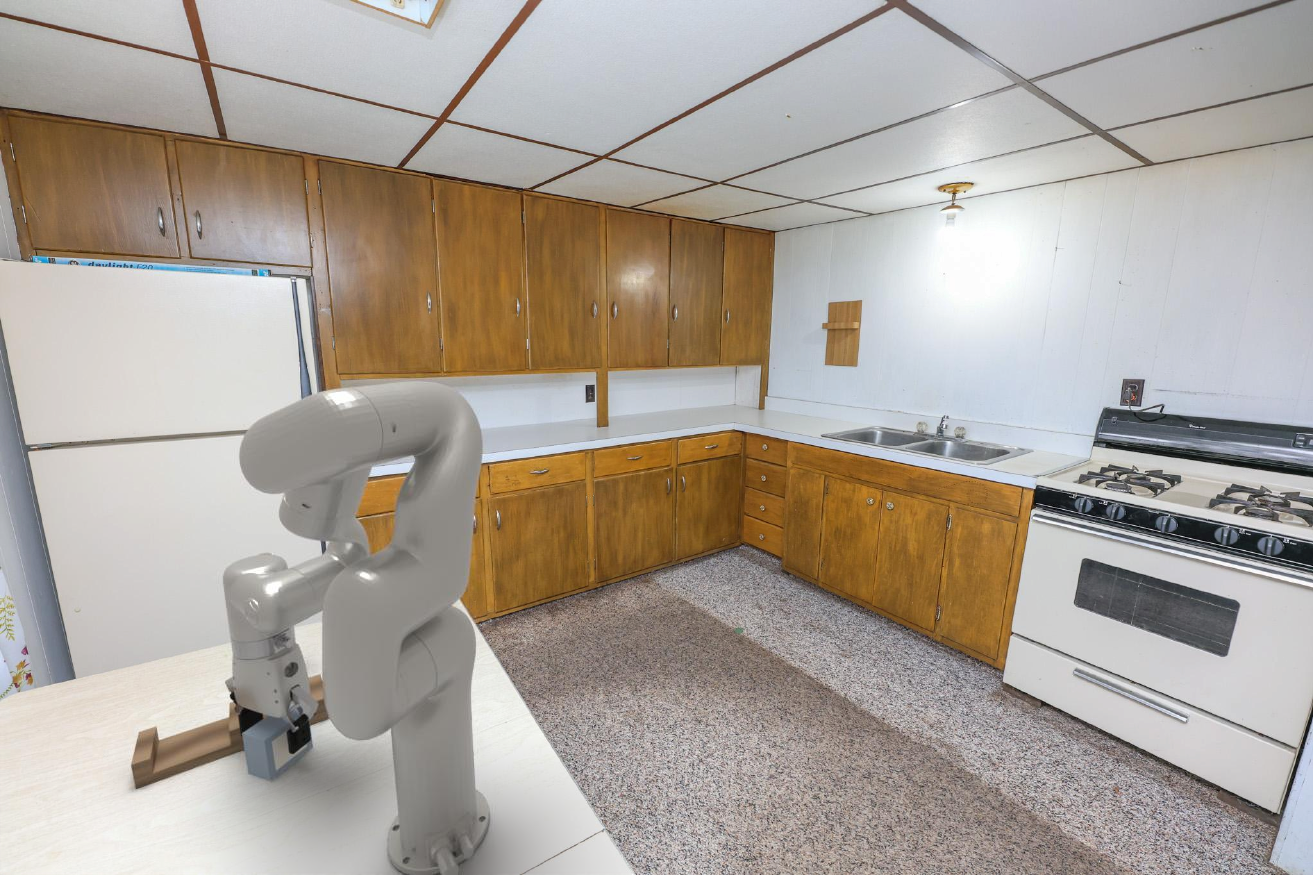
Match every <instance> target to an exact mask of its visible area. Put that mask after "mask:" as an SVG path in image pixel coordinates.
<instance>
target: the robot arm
mask: <svg viewBox="0 0 1313 875" xmlns="http://www.w3.org/2000/svg"><path fill="white" fill-rule="evenodd" d="M483 443H484V442H483V434H482V429H481V426H480V422H479V420H478V417H477V415H476V413H475V411H474V409H473V407H472V406H471V404H470V403H469V401H468V400H467V399H465V397H464V396H463V395H462V394H461V393H460V392H458V391H457V390H455V389H454V388H452V387H450V386H448V385H446V384H442V383H439V382H434V381H427V380H425V381H423V380H411V381H410V380H409V381H408V380H407V381H399V382H388V383H380V384H372V385H371V384H370V385H362V386H361V385H360V386H352V387H350V386H349V387H340V388H334V389H328V390H323V391H319V392H316V393H313V394H310V395H308V396H306V397H303V398H302V399H299V400H297V401H296V402H295V401H294V402H293V403H290V404H289V405H286V406H284V407H282V408H280V409H278V410H275V411H273V412H271V413H269V414H267V415H265V416H263V417H260V418H259V419H258V420H256V421H255V422H254V423H253V424H252V425H251V426H249V428H248V429H247V431H246V432H245V434H244V436H243V438H242V440H241V443H240V447H239V455H238V456H239V457H238V459H239V467H240V469H241V473H242V475H243V476H244V478H245V480H246V481H247V483H248V484H249V485H250V486H252V487H253V488H254V489H255V490H256V491H259V492H261V493H264V494H268V495H279V494H280V495H281V494H283V495H282V499H281V502H280V505H279V507H278V508H279V509H278V517H279V521H280V522H281V525H282V526H283V527H284V528H285V529H286V530H287V531H288V532H289V533H292V534H293V535H295V536H298V537H300V538H303V539H306V540H310V541H311V540H312V541H320V542H328V544H327V546H326V549H325V551H324V553H323V554H321V555H319V556H317V557H313V558H311V559H308V560H306V561H304V562H301V563H298V564H296V565H294V566H291V567H289V568H288V563H287V561H286V560H285V559H284V558H283V557H281V556H279V555H276V554H273V555H257V554H255V555H256V556H255V555H252V556H247V557H244V558H241V559H238V560H236V561H235V562H232V563H230V564H229V565H228V566H227V567H226V568H225V570H224V572H223V575H222V585H223V592H224V600H225V608H226V609H225V610H226V613H227V614H226V616H227V622H228V631H229V637H230V644H231V651H232V662H231V663H232V665H231V668H232V669H231V670H232V671H231V672H232V676H231V677H230V678H228V679H226V680H225V681H224V683H225V686H226V688H227V690H228V692H229V699H230V700H232V702H234V703H235V704H236V706H235V708H234V709H235V712H236V713H238V714H239V713H240V714H239V715H238V719H239V726H240V734H241V736H242V733H244V732H245V731H246V730H248V729H249V728H251V727H252V726H254V725H255V724H257V723H258V722H260V721H261V720H263V714H265V715H269V716H272V717H276V718H283V720H284V721H285V723H286V724H287V726H288V727H289V730H288V731H287V740H288V749H289V753H290V754H294V753H296V752H297V751H298V750H299V749H301V748H302V747H303V746H304V745H306V744H307V743H308V742H309V741H310V740H311V736H312V732H311V733H310V728H311V725H310V723H309V721H310V720H311V719H312V718H313V717H314V716H315V714H316V710H317V708H318V702H317V701H316V700H315V699H313V698H312V697H311V696H310V686H309V680H308V678H309V675H308V670H307V665H306V662H305V659H304V655H303V651H302V650H301V647H300V645H299V644H298V643H297V640H296V633H295V626H296V625H298V624H300V623H301V622H303V621H305V620H308V619H309V618H311V617H313V616H315V615H317V614H319V613H321V612H322V616H321V617H322V620H321V621H322V622H321V623H322V624H321V626H322V627H321V628H322V633H321V635H322V637H321V639H322V640H321V645H322V647H321V648H322V649H321V651H322V652H321V653H322V656H321V660H322V661H321V663H322V664H321V665H322V666H321V667H322V668H321V673H322V675H321V678H322V687H323V697H324V703H325V707H326V710H327V713H328V716H329V718H328V719H329V720H330V722H331V724H332V725H333V726H334V728H335V729H336V730H337V731H338V732H339V733H340V734H341V735H342V736H344V737H346V738H347V739H350V740H354V741H368V740H371V739H372V740H373V739H375V738H377V737H379V736H381V735H383V734H385V733H386V732H388V731H389V730H390V736H391V747H392V748H391V749H392V759H393V760H392V762H393V770H394V771H393V772H394V779H395V780H394V782H395V791H396V792H395V793H396V803H397V804H396V805H397V816H396V817H395V819H394V820H393V822H392V823H391V825H390V828H389V831H388V834H387V840H386V842H387V843H386V844H387V845H386V846H387V847H386V848H387V854H388V858H389V861H390V863H391V864H392V865H393V866H394V868H395V869H397V870H398V871H399V872H401V873H403V874H406V875H437V874H440V875H458V874H459V873H460V872H459V871H460V868H459V864H460V863H462V862H463V861H464V860H467V859H471V858H472V856H473V855H474V853H475V850H476V849H477V848H478V847H479V846H480V844H481V842H482V841H483V839H484V838H485V836H486V833H487V830H488V827H489V823H490V811H489V809H490V808H489V804H488V801H487V799H486V797H485V795H484V794H482V793H481V792H480V791H479V790H478V789H477V788H476V787H477V786H476V772H475V769H476V768H475V758H474V756H475V752H474V737H473V736H474V735H473V717H472V716H473V715H472V714H473V713H472V683H473V676H474V669H475V662H476V653H477V636H476V632H475V628H474V626H473V623H472V622H471V620H470V618H469V617H468V615H467V614H466V613H465V612H464V611H463V610H461V609H460V608H459V607H456V606H454V605H455V604H456V603H457V602H458V601H459V600H460V599H461V598H462V597H463V595H464V594H465V592H466V590H467V587H468V584H469V581H470V580H469V579H470V568H471V559H472V558H471V557H472V547H473V532H474V523H475V520H474V519H475V507H476V506H475V505H476V504H475V502H476V498H477V497H476V496H477V492H478V490H477V489H478V484H479V479H480V473H481V469H482V468H481V467H482V461H483V453H484V452H483V451H484V450H483V446H484V445H483ZM411 456H413V458H414V463H413V464H412V466H411V468H410V469H409V471H408V473H407V474H406V476H405V478H404V480H403V481H402V483H401V487H400V488H399V491H398V494H397V497H396V501H395V506H394V528H393V535H392V539H391V541H390V542H389V543H388V544H387V546H386V547H384V548H383V549H381V550H379V551H377V552H374V553H373V554H372V553H371V548H370V543H369V538H368V535H367V532H366V530H365V528H364V526H363V525H362V523H361V521H359V519H358V518H357V517H356V516H357V513H358V511H359V507H360V505H361V502H362V499H363V495H364V493H365V489H366V487H367V484H368V481H369V478H370V474H371V471H372V469H373V467H374V466H378V465H382V464H386V463H390V462H393V461H398V460H401V459H404V458H405V459H406V458H409V457H411ZM370 553H371V554H370ZM295 641H296V643H295ZM292 701H293V702H294V704H295V705H294V706H293V707H291V708H290V709H289V706H290V703H291V702H292ZM295 709H297V710H298V712H299V713H300V715H301V716H300V717H299V718H298V719H297V720H296V721H295V720H294V718H293V717H292V715H291V714H290V713H291V712H293V711H294V710H295ZM242 737H243V736H242Z"/></svg>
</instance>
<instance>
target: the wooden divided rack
mask: <svg viewBox="0 0 1313 875" xmlns="http://www.w3.org/2000/svg"><path fill="white" fill-rule="evenodd" d="M308 680H309V686H310V696H311V697H312V698H313V699H315V700H316V701H317V702H318V708H317V710H316V714H315V716H314V717H313V718H312V719H311V720H310V726H311V725H314V724H317V723H321V722H323V721H325V720H328V719H330V718H329V716H328V713H327V710H326V707H325V703H324V697H323V687H322V675H321V673H318V674H316V675H313V676H310V677H309V676H308ZM290 704H293V705H295V704H294V702H293V701H292V702H291V703H290ZM235 706H236V704H235V703H234V702H233V701H232V702H229V710H228V711H229V712H228V714H229V715H228V716H227V717H225V718H222V719H219V720H215V721H212V722H210V723H206V724H204V725H201V726H197V727H194V728H192V729H189V730H186V731H183V732H180V733H177V734H173V735H171V736H168V737H164V738H161V739H159V734H158V729H157V726H154V727H150V728H146V729H144V730H141V731H139V732H138V733H137V739H136V741H135V747H134V751H133V755H132V759H131V763H130V767H131V772H132V777H133V778H132V779H133V782H134V787H135V789H139V788H142V787H145V786H148V785H151V784H153V783H155V782H159V781H161V780H164V779H168V778H169V777H172V776H175V775H178V774H181V773H184V772H186V771H188V770H191V769H195V768H197V767H200V766H203V765H205V764H208V763H211V762H213V761H216V760H219V759H221V758H224V757H227V756H229V755H230V756H231V755H233V754H235V753H238V752H240V751H243V750H244V751H245V749H244V742H243V737H242V736H241V734H240V726H239V719H238V715H239V714H240V713H239V714H238V713H236V712H235V709H234V708H235ZM267 716H268V715H265V714H263V719H264V718H265V717H267Z"/></svg>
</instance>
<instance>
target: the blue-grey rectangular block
mask: <svg viewBox="0 0 1313 875" xmlns="http://www.w3.org/2000/svg"><path fill="white" fill-rule="evenodd" d="M293 706H294V705H293V704H290V706H289V709H290V708H291V707H293ZM290 714H291V715H292V717H293V718H294V720H295V721H296V720H297V719H298V718H299V717H300V716H301V715H300V713H299V712H298V710H297V709H295V710H294V711H293V712H291V713H290ZM309 723H310V721H309ZM288 730H289V727H288V726H287V724H286V723H285V721H284V720H283V718H276V717H272V716H269V715H268V716H267V717H265V718H264V719H263V720H261V721H260V722H258V723H257V724H255V725H254V726H252V727H251V728H249V729H248V730H246V731H245V732H244V733H242V736H243V742H244V754H245V756H244V757H245V761H246V766H247V773H248V775H250V776H253V777H257V778H259V779H263V780H265V781H268V782H272V780H274V779H275V778H277V776H279V775H280V774H281V773H283V772H284V771H285V770H286V769H287V768H289V767H290V766H291V765H292V764H294V763H295V762H296V761H297V760H300V758H301V757H302V756H303V755H305V754H306V753H307V752H309V751H310V750H311V749H312V748H313V746H314V744H313V738H312V737H313V736H312V735H311V740H310V741H309V742H308V743H307V744H306V745H304V746H303V747H302V748H301V749H299V750H298V751H297V752H296V753H294V754H290V753H289V749H288V740H287V731H288ZM310 733H311V734H312V729H311V727H310Z"/></svg>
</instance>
